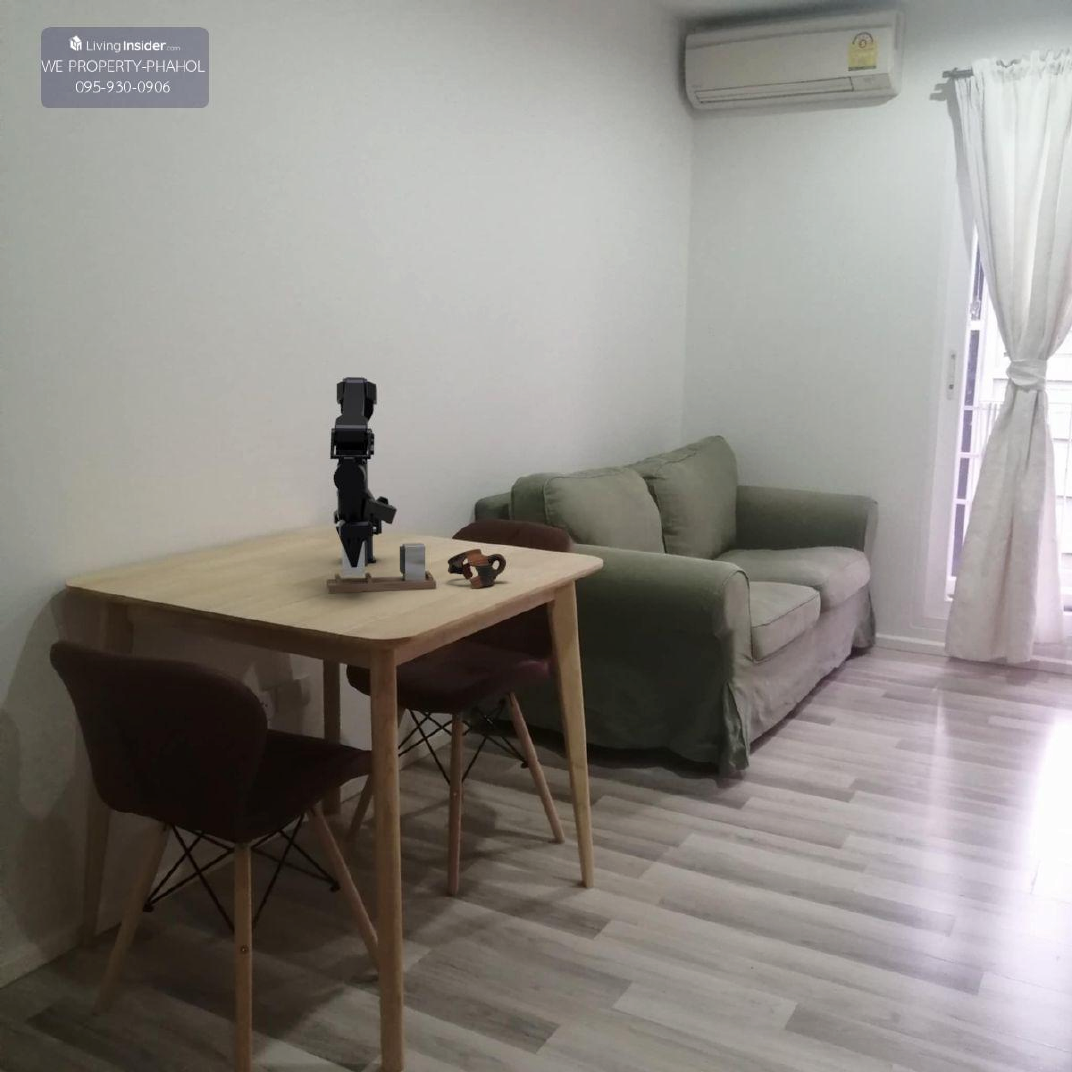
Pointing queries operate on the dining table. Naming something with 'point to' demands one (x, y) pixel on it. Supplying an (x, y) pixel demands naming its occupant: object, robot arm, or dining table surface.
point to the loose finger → (361, 563)
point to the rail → (411, 579)
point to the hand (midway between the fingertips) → (353, 565)
